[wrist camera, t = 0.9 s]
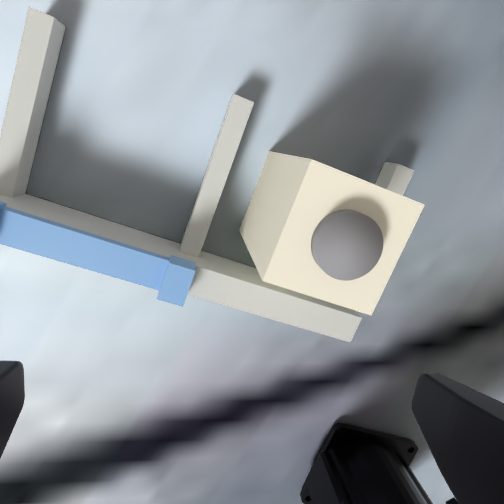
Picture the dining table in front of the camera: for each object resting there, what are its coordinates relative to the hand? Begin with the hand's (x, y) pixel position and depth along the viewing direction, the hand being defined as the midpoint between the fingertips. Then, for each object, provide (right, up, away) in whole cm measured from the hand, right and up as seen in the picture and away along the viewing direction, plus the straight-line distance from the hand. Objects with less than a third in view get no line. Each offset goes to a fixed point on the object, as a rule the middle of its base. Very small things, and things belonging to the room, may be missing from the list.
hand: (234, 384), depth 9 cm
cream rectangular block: (+3, +6, +13) cm, 14 cm away
